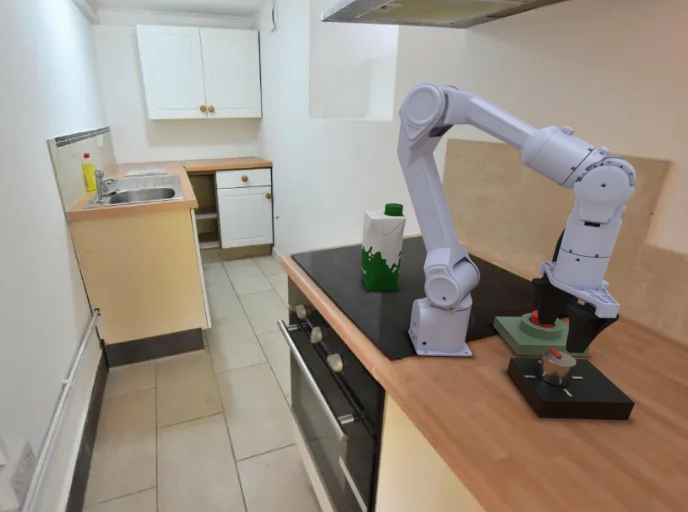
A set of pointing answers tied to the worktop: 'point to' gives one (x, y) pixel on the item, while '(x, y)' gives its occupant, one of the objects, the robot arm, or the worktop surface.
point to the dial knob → (557, 367)
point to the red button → (535, 320)
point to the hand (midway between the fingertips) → (559, 336)
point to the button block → (533, 336)
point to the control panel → (570, 392)
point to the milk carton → (382, 247)
